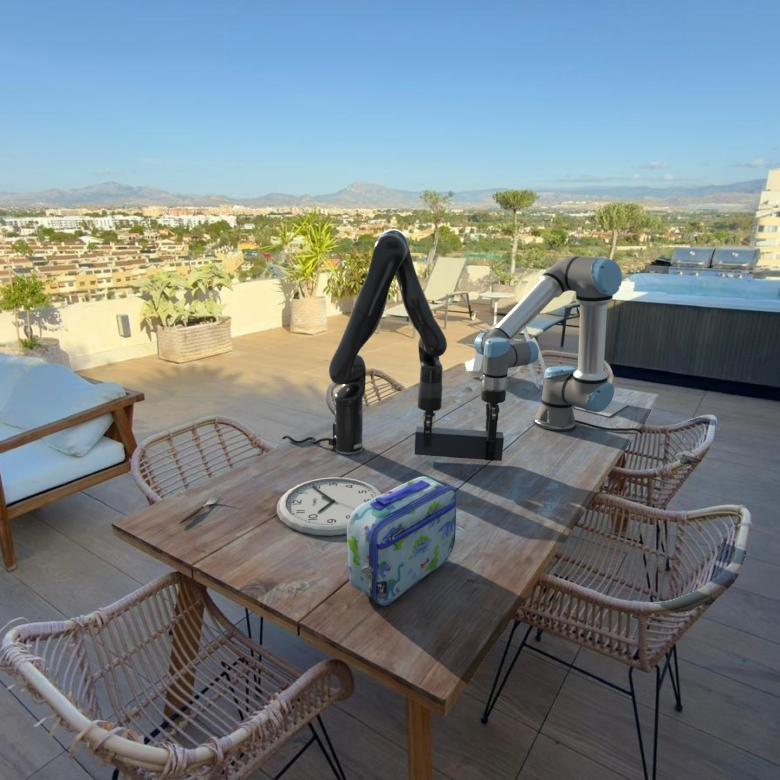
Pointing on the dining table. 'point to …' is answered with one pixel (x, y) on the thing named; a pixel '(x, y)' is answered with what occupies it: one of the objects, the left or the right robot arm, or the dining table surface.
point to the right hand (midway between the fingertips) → (488, 456)
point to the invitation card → (609, 408)
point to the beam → (457, 443)
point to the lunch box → (400, 538)
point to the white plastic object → (476, 364)
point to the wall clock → (324, 504)
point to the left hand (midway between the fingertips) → (427, 442)
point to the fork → (209, 502)
